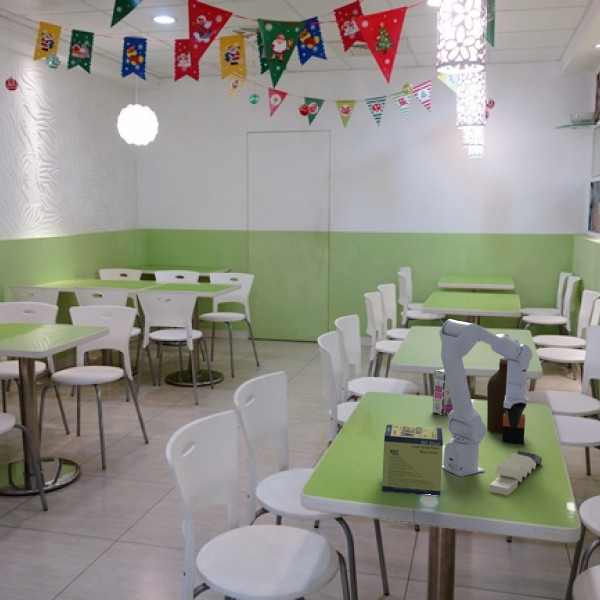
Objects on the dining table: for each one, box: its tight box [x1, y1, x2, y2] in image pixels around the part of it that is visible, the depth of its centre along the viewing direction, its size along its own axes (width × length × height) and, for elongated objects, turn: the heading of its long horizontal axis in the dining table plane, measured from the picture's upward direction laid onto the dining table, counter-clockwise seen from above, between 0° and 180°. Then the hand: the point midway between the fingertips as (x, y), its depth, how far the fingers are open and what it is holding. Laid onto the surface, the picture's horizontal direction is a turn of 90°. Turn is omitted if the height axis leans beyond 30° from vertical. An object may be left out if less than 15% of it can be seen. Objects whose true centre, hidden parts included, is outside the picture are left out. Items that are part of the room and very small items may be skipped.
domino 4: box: [506, 456, 533, 475], centre depth 196 cm, size 2×5×8 cm
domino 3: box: [500, 460, 528, 479], centre depth 193 cm, size 2×5×8 cm
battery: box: [501, 411, 526, 445], centre depth 226 cm, size 4×7×10 cm, turn 72°
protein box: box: [381, 424, 444, 496], centre depth 186 cm, size 10×16×16 cm
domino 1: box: [495, 465, 523, 483], centre depth 189 cm, size 2×5×8 cm
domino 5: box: [510, 452, 537, 471], centre depth 200 cm, size 2×5×8 cm
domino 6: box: [516, 450, 543, 465], centre depth 204 cm, size 2×5×8 cm
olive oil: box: [486, 357, 508, 435], centre depth 237 cm, size 11×11×25 cm
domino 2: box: [488, 475, 519, 496], centre depth 186 cm, size 2×5×8 cm
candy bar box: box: [432, 368, 453, 416], centre depth 259 cm, size 11×5×16 cm, turn 133°
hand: (513, 426), depth 209 cm, fingers closed
